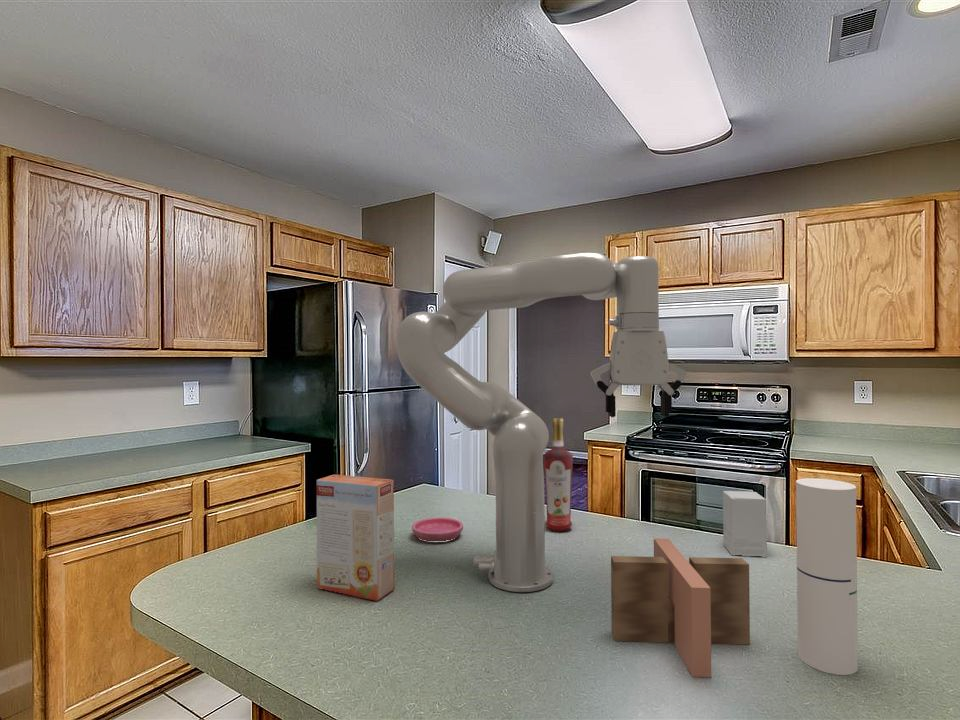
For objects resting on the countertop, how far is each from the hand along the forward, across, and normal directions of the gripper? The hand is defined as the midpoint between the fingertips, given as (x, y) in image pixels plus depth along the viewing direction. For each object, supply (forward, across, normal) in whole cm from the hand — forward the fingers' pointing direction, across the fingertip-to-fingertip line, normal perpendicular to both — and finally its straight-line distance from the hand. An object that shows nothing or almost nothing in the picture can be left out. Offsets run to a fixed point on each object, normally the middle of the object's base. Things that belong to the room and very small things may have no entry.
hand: (638, 416), depth 99 cm
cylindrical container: (+32, +21, -22) cm, 45 cm away
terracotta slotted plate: (+32, +2, -17) cm, 37 cm away
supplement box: (+32, +28, +22) cm, 48 cm away
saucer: (+33, -42, +29) cm, 61 cm away
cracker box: (+32, -53, -2) cm, 62 cm away
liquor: (+32, -12, +36) cm, 50 cm away
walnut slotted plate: (+32, +2, -17) cm, 37 cm away
